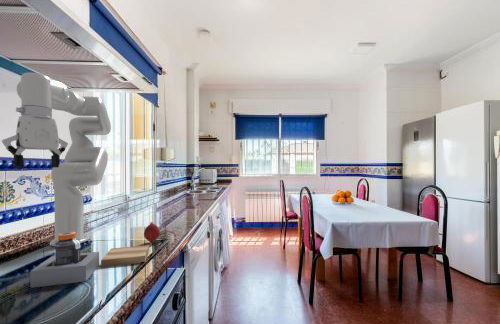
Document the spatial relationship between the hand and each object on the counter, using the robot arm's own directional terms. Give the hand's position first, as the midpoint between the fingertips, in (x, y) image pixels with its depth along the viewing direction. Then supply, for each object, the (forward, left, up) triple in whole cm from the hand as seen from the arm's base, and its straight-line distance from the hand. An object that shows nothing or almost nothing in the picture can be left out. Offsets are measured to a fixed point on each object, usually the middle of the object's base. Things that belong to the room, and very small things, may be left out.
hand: (38, 167), depth 85 cm
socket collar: (+16, +14, -29) cm, 36 cm away
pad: (+6, +27, -29) cm, 40 cm away
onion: (-11, +33, -30) cm, 46 cm away
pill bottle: (+16, +13, -30) cm, 36 cm away
